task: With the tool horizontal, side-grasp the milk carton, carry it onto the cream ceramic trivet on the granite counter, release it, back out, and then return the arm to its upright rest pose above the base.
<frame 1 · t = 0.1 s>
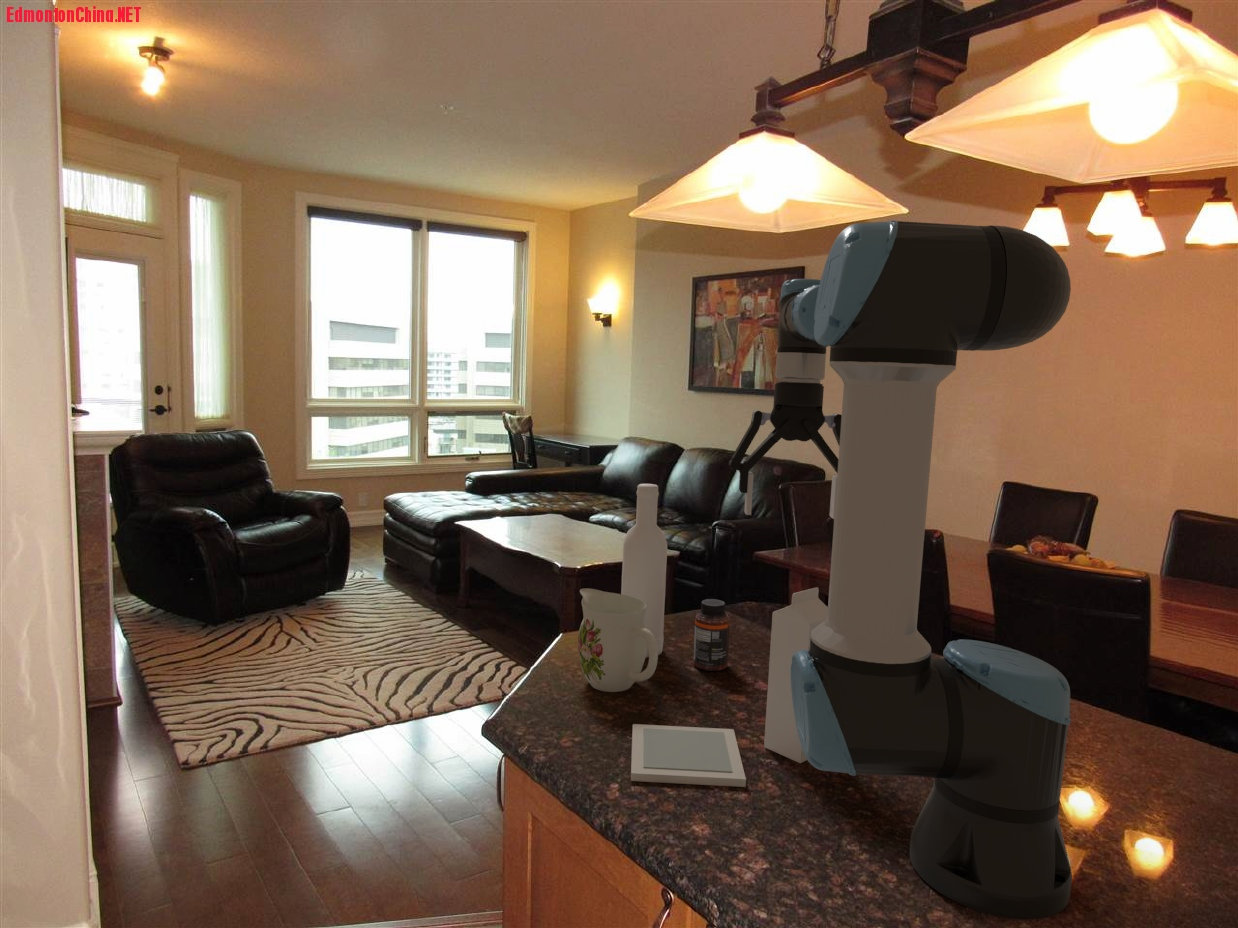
hand: (790, 515, 131), 28 cm above the worktop, tool pointing down, fingers open, 13 cm apart
bottle: (640, 651, 147), on the worktop
trivet: (685, 756, 108), on the worktop
supplement bottle: (710, 667, 141), on the worktop
milk: (794, 750, 111), on the worktop
pitcher: (614, 687, 131), on the worktop
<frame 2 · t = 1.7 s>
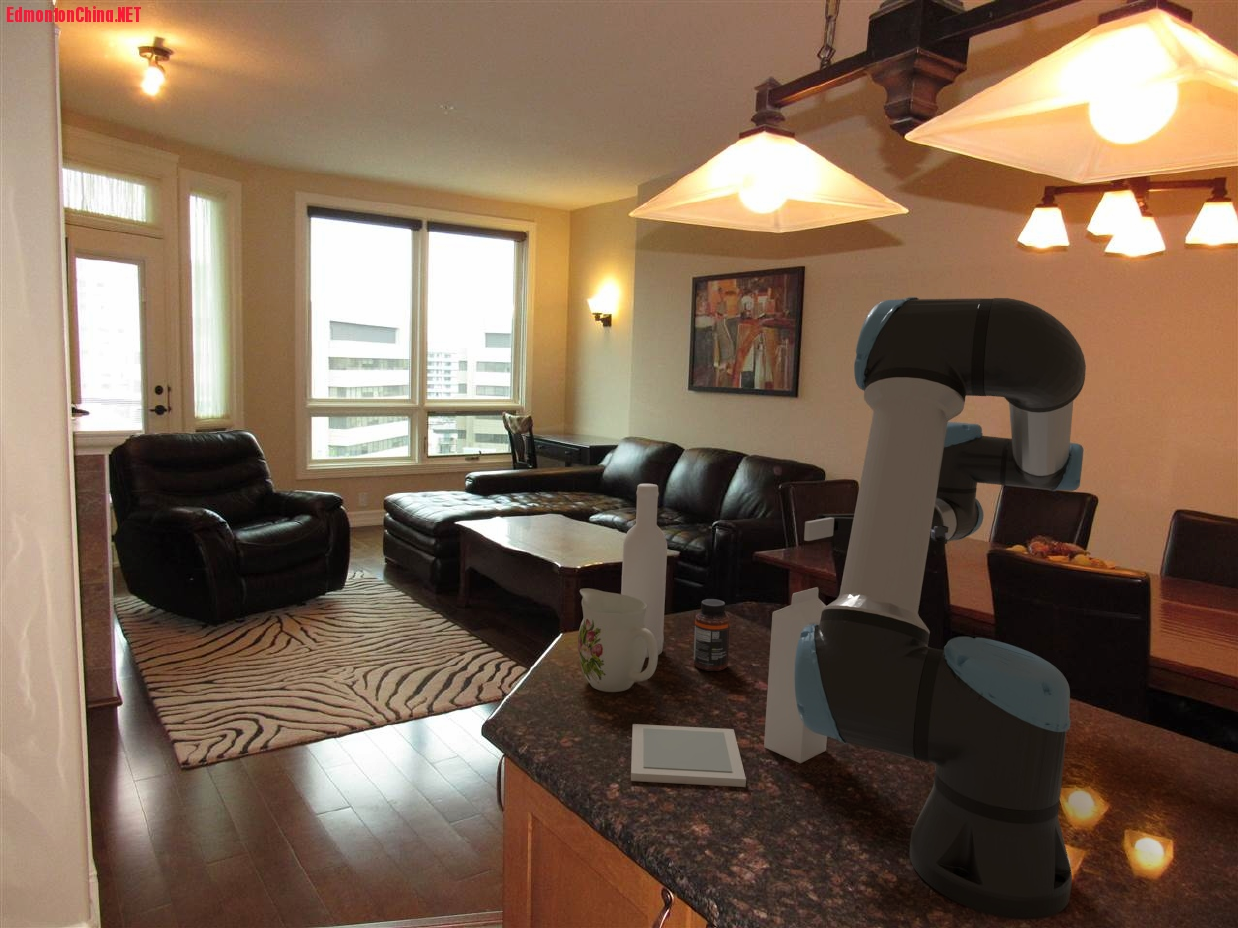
hand: (848, 539, 115), 28 cm above the worktop, tool horizontal, fingers open, 13 cm apart
nothing on the worktop moved.
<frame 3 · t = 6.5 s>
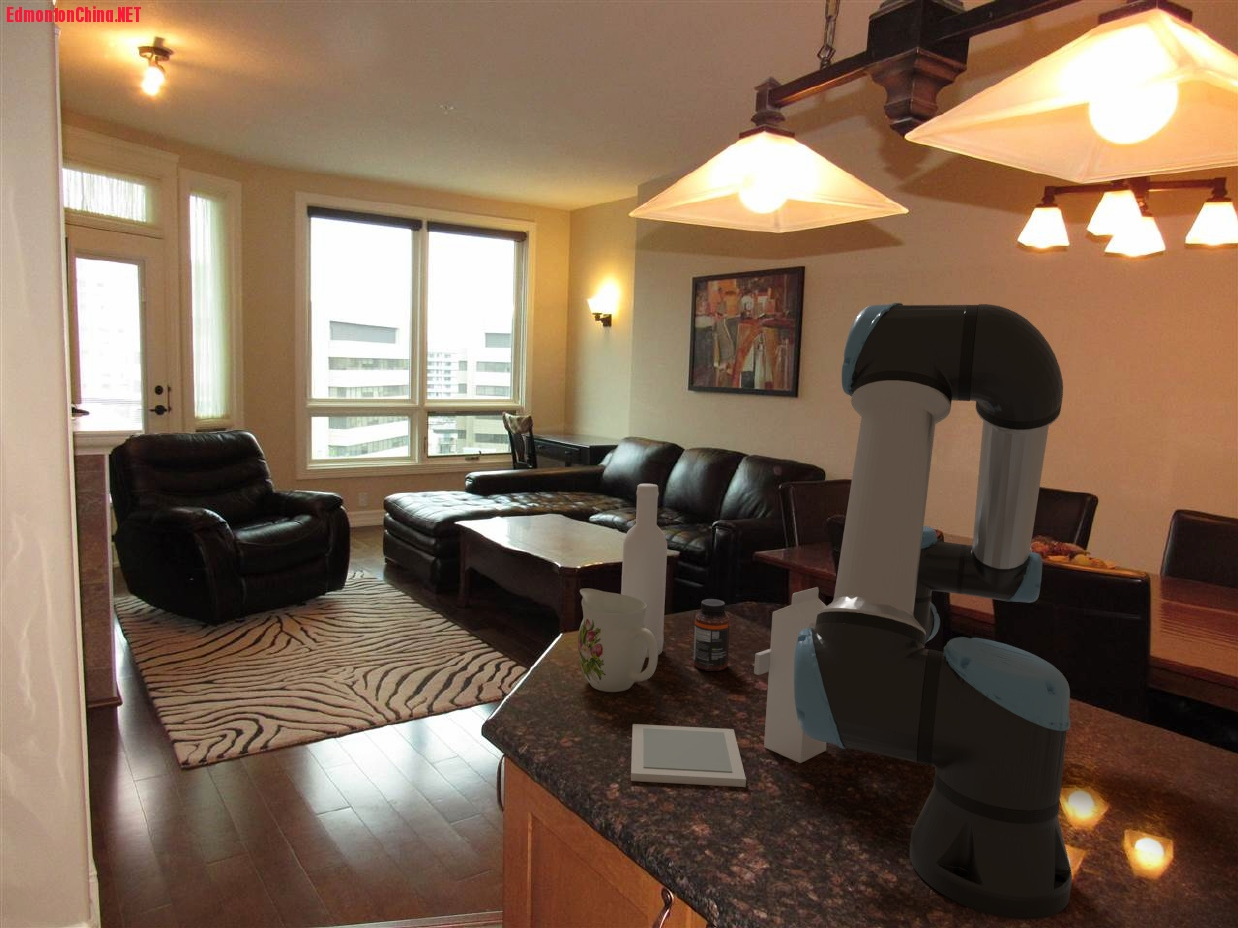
hand: (777, 671, 106), 12 cm above the worktop, tool horizontal, fingers closed on milk, 6 cm apart
milk: (794, 750, 111), on the worktop, touching gripper
everything else where it was.
when the fingers open (14 cm above the worktop, at t = 11.7 s): milk drops 1 cm, resting on trivet.
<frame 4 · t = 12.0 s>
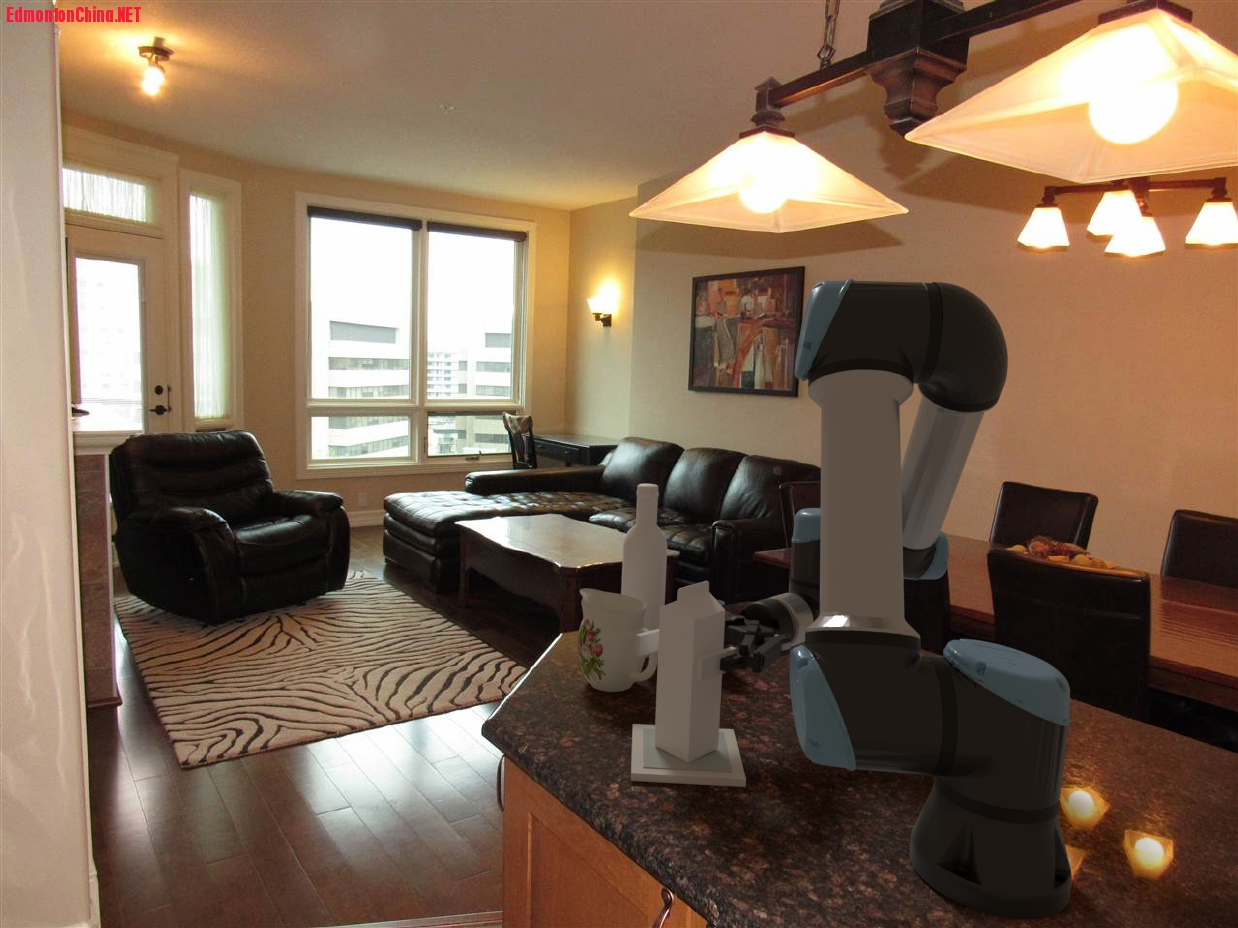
hand: (667, 656, 103), 14 cm above the worktop, tool horizontal, fingers open, 10 cm apart
milk: (686, 748, 107), point 1 cm above the worktop, touching trivet
everything else where it was.
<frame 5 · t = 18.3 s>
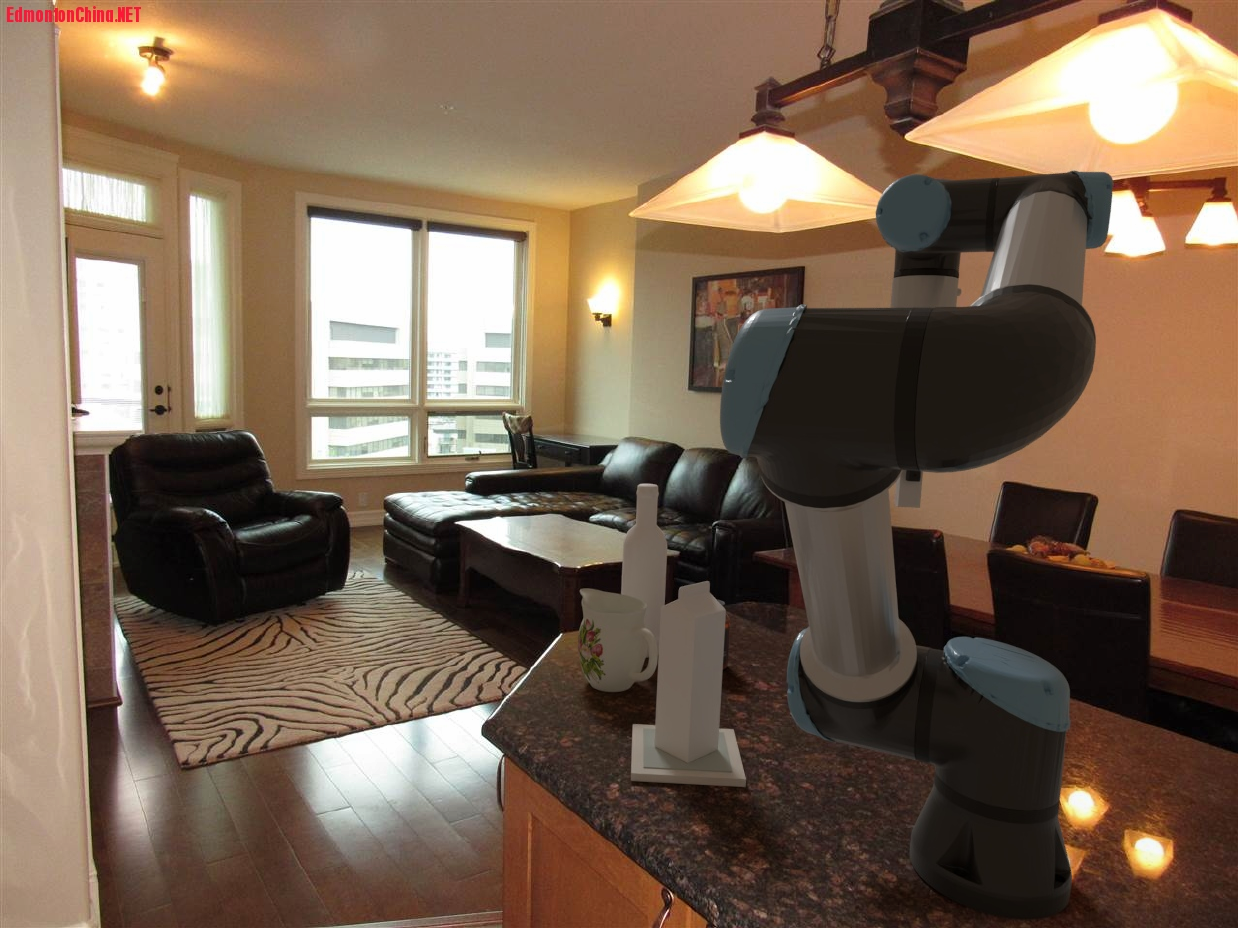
hand: (907, 506, 103), 34 cm above the worktop, tool pointing down, fingers closed
nothing on the worktop moved.
at the end: milk 0.1 cm from the trivet (horizontally); milk tilted 0°; the gripper is holding nothing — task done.
